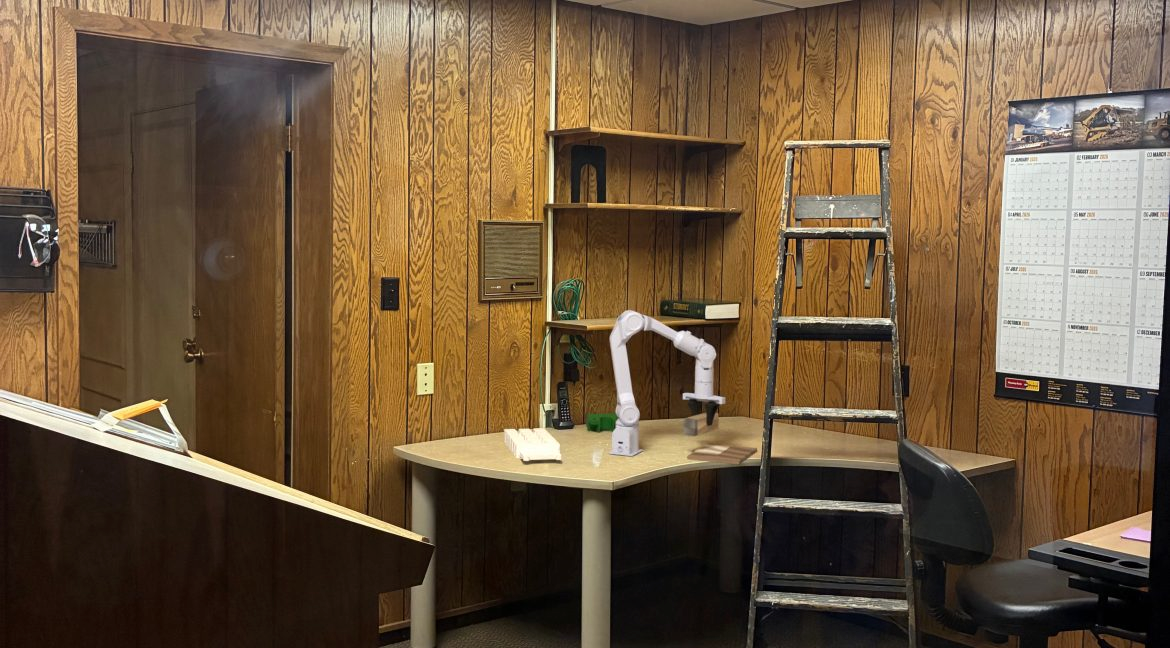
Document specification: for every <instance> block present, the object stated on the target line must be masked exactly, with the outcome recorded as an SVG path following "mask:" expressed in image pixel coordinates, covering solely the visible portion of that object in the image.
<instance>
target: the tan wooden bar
mask: <svg viewBox="0 0 1170 648" xmlns="http://www.w3.org/2000/svg"><path fill="white" fill-rule="evenodd" d="M706 419H707V415H706V412H703V413H700V414H699V415H695V416H693V415H692V416H688V417H685V418H683V435H684V436H691V437H697V436H700V435H703V434H706V433H709V432H712V431H716V430H719V413H718V412H716V413H715V416H714V419H713V423H712V425H710V426H707V423H706Z"/></svg>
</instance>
